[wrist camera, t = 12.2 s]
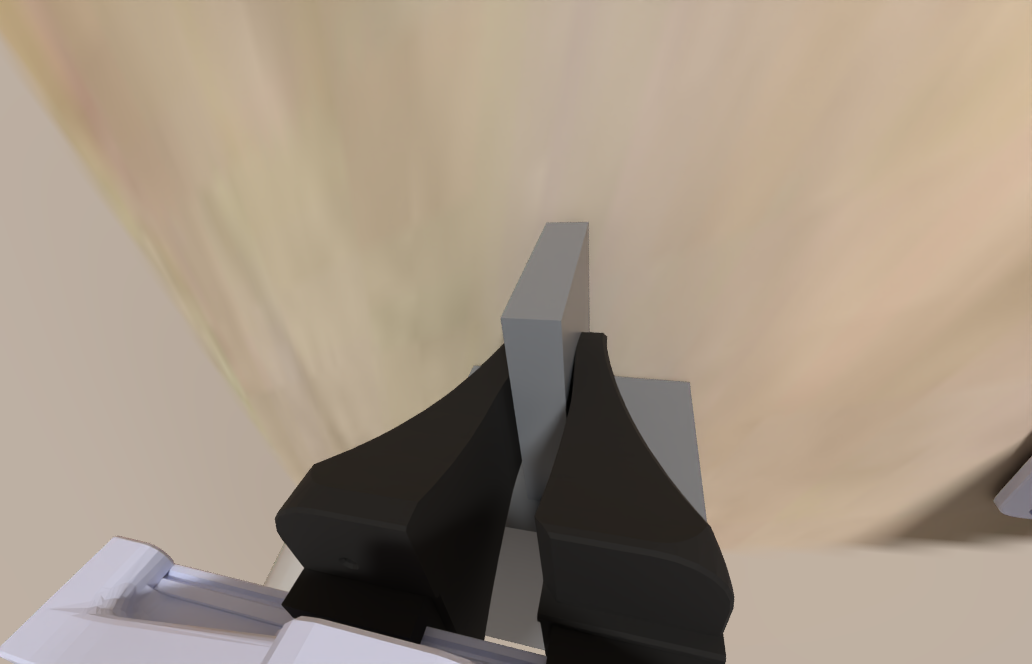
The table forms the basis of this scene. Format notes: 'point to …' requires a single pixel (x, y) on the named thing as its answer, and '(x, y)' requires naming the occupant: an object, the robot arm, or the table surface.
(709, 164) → the table surface
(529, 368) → the grey block with fin
